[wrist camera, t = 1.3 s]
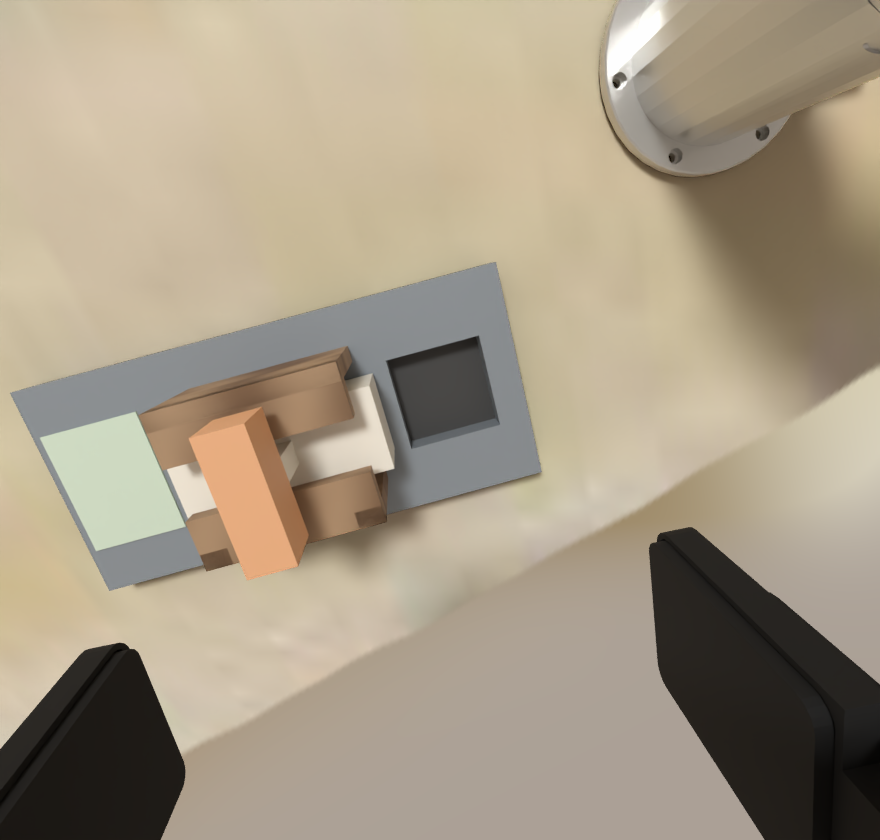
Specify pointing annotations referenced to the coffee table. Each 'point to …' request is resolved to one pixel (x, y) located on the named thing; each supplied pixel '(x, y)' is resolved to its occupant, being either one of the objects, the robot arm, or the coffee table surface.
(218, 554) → the tunnel
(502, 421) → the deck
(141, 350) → the coffee table surface
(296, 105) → the coffee table surface
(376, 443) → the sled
